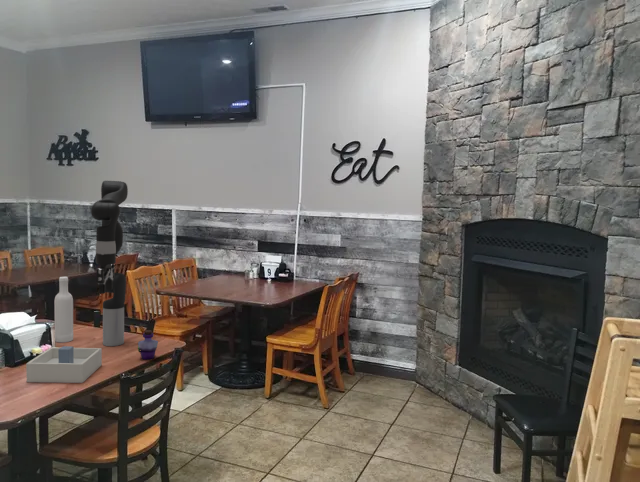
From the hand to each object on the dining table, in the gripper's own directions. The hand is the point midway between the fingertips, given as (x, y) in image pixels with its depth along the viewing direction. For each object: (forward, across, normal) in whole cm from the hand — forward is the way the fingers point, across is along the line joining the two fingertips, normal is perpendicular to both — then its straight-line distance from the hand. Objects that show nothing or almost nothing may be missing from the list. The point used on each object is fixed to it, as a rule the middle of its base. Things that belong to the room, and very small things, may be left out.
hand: (105, 291), depth 212 cm
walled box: (+30, +12, -11) cm, 34 cm away
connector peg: (+30, +12, -11) cm, 34 cm away
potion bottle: (+30, -8, +15) cm, 35 cm away
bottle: (+30, -32, -30) cm, 53 cm away
